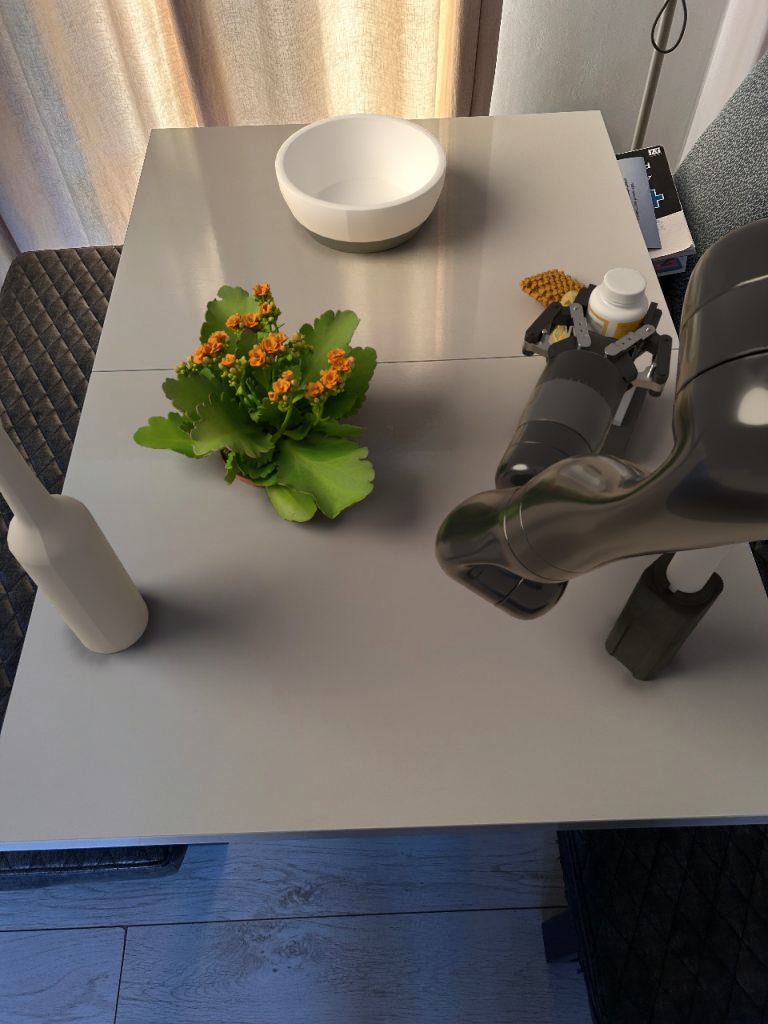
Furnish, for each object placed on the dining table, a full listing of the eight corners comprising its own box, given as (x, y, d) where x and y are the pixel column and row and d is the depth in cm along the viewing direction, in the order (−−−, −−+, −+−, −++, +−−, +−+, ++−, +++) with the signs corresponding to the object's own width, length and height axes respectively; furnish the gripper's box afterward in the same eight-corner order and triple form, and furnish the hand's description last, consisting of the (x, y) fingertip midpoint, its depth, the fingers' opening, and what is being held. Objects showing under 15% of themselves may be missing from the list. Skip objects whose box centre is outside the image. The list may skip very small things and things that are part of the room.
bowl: (451, 174, 112) (455, 118, 105) (434, 273, 99) (437, 216, 92) (300, 163, 114) (294, 107, 107) (266, 259, 101) (256, 202, 95)
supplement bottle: (633, 351, 81) (662, 271, 72) (619, 386, 78) (647, 306, 69) (582, 335, 82) (605, 255, 74) (566, 369, 79) (588, 289, 71)
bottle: (76, 599, 73) (-73, 400, 50) (145, 583, 74) (31, 379, 51) (79, 661, 70) (-80, 477, 46) (152, 643, 70) (32, 454, 47)
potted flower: (127, 540, 77) (66, 426, 62) (167, 370, 90) (124, 243, 76) (376, 540, 76) (372, 425, 62) (379, 369, 90) (376, 242, 75)
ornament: (525, 239, 95) (538, 297, 84) (604, 258, 96) (627, 318, 85) (507, 288, 100) (517, 350, 89) (583, 305, 101) (602, 368, 90)
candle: (599, 645, 70) (685, 483, 49) (635, 612, 72) (733, 443, 51) (643, 686, 68) (753, 534, 47) (679, 651, 69) (800, 490, 49)
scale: (645, 397, 87) (653, 376, 84) (617, 466, 81) (625, 446, 78) (552, 367, 90) (557, 346, 87) (520, 432, 84) (524, 412, 81)
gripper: (661, 411, 63) (707, 289, 71) (497, 358, 66) (559, 248, 75) (637, 468, 69) (681, 349, 78) (488, 416, 73) (546, 308, 81)
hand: (621, 300), depth 76 cm, fingers closed on supplement bottle, 5 cm apart
